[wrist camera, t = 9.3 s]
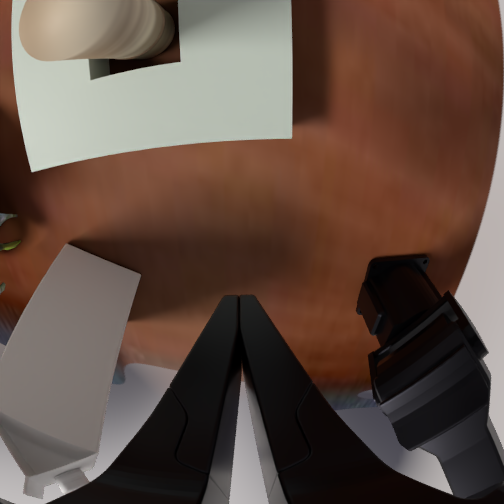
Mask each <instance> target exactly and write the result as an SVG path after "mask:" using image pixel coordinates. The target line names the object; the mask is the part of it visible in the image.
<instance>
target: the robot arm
mask: <svg viewBox="0 0 504 504" xmlns="http://www.w3.org/2000/svg"><path fill="white" fill-rule="evenodd" d="M428 263H429V258H428V256H427V255H418V256H407V257H395V258H383V259H374V260H371V261H370V262H369V265H368V268H367V272H366V276H365V280H364V282H363V283H362V287H361V290H360V294H359V297H358V301H357V308H356V311H357V314H359V315H363V318H364V320H365V322H366V325H367V327H368V329H369V332H370V334H371V335H373V336H374V335H376V337H377V339H378V341H379V344H380V346H381V347H380V348H379V349H377V350H376V351H373V352H371V353H370V354H368V360H369V368H370V376H371V384H372V392H373V399H374V400H375V402H376V405H377V406H378V407H379V408H380V410H381V411H382V412H383V413H384V414H385V415H386V416H387V417H388V418H389V420H390V422H391V424H392V426H393V428H394V430H395V433H396V436H397V438H398V441H399V443H400V444H401V445H402V446H403V447H405V448H406V449H407V450H408V451H412V450H414V449H416V448H418V447H419V448H421V449H423V450H425V451H427V452H429V453H431V454H433V455H435V456H436V457H437V458H438V460H439V462H440V464H441V466H442V469H443V471H444V474H445V476H446V478H447V481H448V483H449V485H450V488H451V490H452V492H453V495H452V494H449V493H446V492H443V491H441V490H438V489H436V488H433V487H431V486H428V485H426V484H423V483H421V482H419V481H416V480H414V479H412V478H409V477H407V476H405V475H403V474H401V473H398V472H397V471H395V470H393V469H392V468H390V467H389V466H388V465H386V464H385V463H384V462H383V461H382V460H380V459H379V458H378V457H377V456H376V455H375V454H374V453H373V452H372V451H371V450H370V449H369V448H368V446H366V444H365V443H364V442H362V440H361V439H360V438H359V437H358V436H357V435H356V434H355V433H354V432H353V431H352V430H351V429H350V428H349V427H348V426H347V425H346V423H345V422H344V421H343V420H342V419H341V418H340V417H339V416H338V415H337V413H336V412H335V411H334V410H333V408H332V407H331V406H330V405H329V403H328V402H327V401H326V399H325V398H324V397H323V395H322V394H321V392H320V391H319V390H318V388H317V387H316V385H315V384H314V383H312V382H313V381H312V380H311V378H310V377H309V375H308V374H307V372H306V371H305V369H304V368H303V367H302V365H301V364H300V362H299V361H298V359H297V358H296V356H295V355H294V353H293V352H292V350H291V349H290V347H289V346H288V344H287V343H286V342H285V340H284V339H283V337H282V336H281V334H280V333H279V331H278V330H277V328H276V327H275V325H274V324H273V322H272V321H271V319H270V318H269V316H268V315H267V313H266V312H265V310H264V309H263V307H262V306H261V304H260V303H259V301H258V300H257V298H256V297H255V296H254V295H252V294H250V295H240V296H238V295H225V296H224V297H223V298H222V299H221V301H220V303H219V304H218V306H217V308H216V309H215V311H214V313H213V314H212V316H211V318H210V319H209V321H208V323H207V324H206V326H205V328H204V329H203V331H202V333H201V334H200V336H199V338H198V339H197V341H196V342H195V344H194V346H193V347H192V349H191V351H190V352H189V354H188V356H187V357H186V359H185V361H184V362H183V364H182V366H181V367H180V369H179V371H178V372H177V374H176V376H175V377H174V379H173V381H172V382H171V384H170V388H168V389H167V391H166V392H165V394H164V395H163V397H162V399H161V400H160V402H159V404H158V405H157V406H156V408H155V409H154V411H153V412H152V414H151V415H150V417H149V418H148V419H147V421H146V422H145V423H144V425H143V426H142V427H141V429H140V430H139V431H138V432H137V434H136V435H135V436H134V438H133V439H132V440H131V441H130V442H129V443H128V445H127V446H126V447H125V448H124V450H123V451H122V452H121V453H120V454H119V456H118V457H117V458H116V459H115V461H114V462H113V463H112V464H111V465H110V466H109V468H108V469H107V470H106V471H105V472H103V474H101V475H100V476H99V477H97V478H96V479H95V480H93V481H92V482H89V483H88V484H86V485H84V486H82V487H80V488H78V489H76V490H74V491H72V492H70V493H68V494H66V495H64V496H61V497H60V498H57V499H55V500H53V501H51V502H48V503H46V504H229V497H230V487H231V477H232V467H233V457H234V446H235V436H236V426H237V416H238V406H239V395H240V385H241V374H242V369H243V376H244V382H245V387H246V393H247V398H248V403H249V408H250V413H251V418H252V424H253V429H254V434H255V439H256V444H257V449H258V454H259V458H260V464H261V469H262V473H263V478H264V483H265V487H266V492H267V497H268V501H269V504H504V449H503V447H502V444H501V442H500V440H499V438H498V435H497V433H496V430H495V428H494V426H493V424H492V422H491V419H490V417H489V404H490V389H491V374H490V371H489V370H488V368H487V366H486V364H485V362H484V360H483V359H482V358H484V357H485V356H486V355H487V354H488V353H489V352H488V350H487V348H486V347H485V345H484V343H483V341H482V339H481V337H480V335H479V333H478V332H477V330H476V328H475V326H474V325H473V323H472V322H471V320H470V319H469V317H468V316H467V314H466V313H465V311H464V310H463V308H462V307H461V306H460V304H459V303H458V302H457V300H456V299H455V298H454V296H453V295H452V294H451V293H450V291H449V290H448V291H447V292H446V293H445V294H444V296H443V297H441V295H440V294H439V292H438V291H437V289H436V288H435V286H434V285H433V283H432V282H431V281H430V279H429V278H428V276H427V275H426V273H425V271H426V269H427V266H428ZM375 264H376V265H375ZM374 265H375V266H374ZM0 504H14V503H11V502H9V501H6V500H4V499H1V498H0Z"/></svg>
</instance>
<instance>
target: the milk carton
mask: <svg viewBox="0 0 504 504" xmlns="http://www.w3.org/2000/svg"><path fill="white" fill-rule="evenodd" d="M140 278H141V274H139V273H136V272H134V271H131V270H129V269H126V268H124V267H121V266H119V265H116V264H114V263H112V262H109V261H107V260H104V259H102V258H100V257H97V256H95V255H92V254H90V253H88V252H85V251H83V250H81V249H78V248H76V247H74V246H71V245H69V244H65V246H64V247H63V248H62V250H61V251H60V253H59V254H58V256H57V257H56V259H55V260H54V262H53V263H52V265H51V266H50V268H49V270H48V271H47V273H46V274H45V276H44V278H43V279H42V281H41V282H40V284H39V286H38V287H37V289H36V291H35V292H34V294H33V296H32V298H31V299H30V301H29V303H28V305H27V306H26V308H25V310H24V312H23V314H22V316H21V317H20V319H19V321H18V323H17V325H16V327H15V329H14V331H13V333H12V335H11V337H10V339H9V341H8V343H7V345H6V348H5V350H4V352H3V354H2V356H1V359H0V436H1V438H2V440H3V441H4V443H5V445H6V446H7V448H8V450H9V451H10V453H11V455H12V456H13V458H14V459H15V461H16V463H17V464H18V466H19V467H20V469H21V470H22V472H23V473H24V475H25V483H24V489H23V494H26V495H28V496H32V497H36V498H40V499H43V493H44V487H45V486H48V485H51V484H54V483H57V484H58V486H59V488H60V490H61V491H62V493H65V494H66V493H70V492H72V491H74V490H76V489H78V488H80V487H82V486H84V485H86V484H88V483H89V481H88V479H87V478H86V476H85V475H84V472H86V471H89V470H91V469H92V468H93V467H94V465H95V462H96V459H97V456H98V452H99V446H100V440H101V434H102V428H103V423H104V418H105V412H106V406H107V402H108V397H109V392H110V388H111V383H112V379H113V375H114V370H115V366H116V362H117V358H118V354H119V350H120V346H121V342H122V339H123V335H124V331H125V328H126V324H127V320H128V317H129V314H130V310H131V307H132V303H133V300H134V297H135V294H136V290H137V287H138V284H139V281H140Z"/></svg>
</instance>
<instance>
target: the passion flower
mask: <svg viewBox="0 0 504 504" xmlns="http://www.w3.org/2000/svg"><path fill="white" fill-rule="evenodd" d="M11 217H17V214H2V213H1V212H0V226H1V224H2V223H3V222H4V221H6V220H7V219H9V218H11ZM20 242H21V241H20V240H18V241H13V242H10V243H3V244H1V243H0V251H1V250H3V249H5V250H9V249H12V248H15V247H16V246H17V245H18V244H19V243H20ZM4 289H5V283H4V282H3V283H2V284H1V285H0V293H1V292H2V291H4Z"/></svg>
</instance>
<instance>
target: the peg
mask: <svg viewBox="0 0 504 504" xmlns="http://www.w3.org/2000/svg"><path fill="white" fill-rule="evenodd" d="M174 34H175V23H174V20H173V18H172V16H171V15H170V14H169V13H168V12H167V11H166V10H164V9H163V8H162V7H161V6H160V5H159V4H158V3H157V2H156V1H155V0H27V1H26V2H25V4H24V7H23V10H22V13H21V16H20V21H19V37H20V41H21V44H22V46H23V48H24V50H25V51H26V52H27V53H28V54H29V55H30V56H31V57H33V58H35V59H37V60H40V61H61V60H75V59H120V60H127V59H149V58H152V57H155V56H157V55H159V54H160V53H162V52H163V51H164V50H165V49H166V48H167V47H168V46H169V45H170V43H171V42H172V40H173V37H174Z"/></svg>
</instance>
